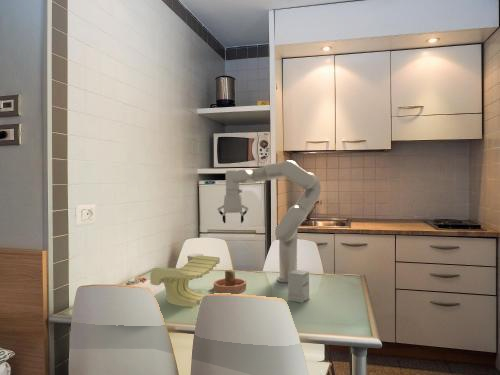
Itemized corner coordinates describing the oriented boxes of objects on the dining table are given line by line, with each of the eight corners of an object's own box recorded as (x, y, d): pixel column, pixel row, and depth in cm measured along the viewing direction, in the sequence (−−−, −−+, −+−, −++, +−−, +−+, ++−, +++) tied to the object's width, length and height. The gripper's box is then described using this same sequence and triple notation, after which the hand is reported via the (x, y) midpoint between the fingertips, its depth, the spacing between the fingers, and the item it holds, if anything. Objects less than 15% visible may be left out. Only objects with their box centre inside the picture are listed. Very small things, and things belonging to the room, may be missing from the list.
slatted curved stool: (193, 290, 201) (193, 254, 200) (220, 294, 193) (219, 257, 192) (151, 307, 175) (150, 267, 174) (179, 313, 167) (178, 270, 166)
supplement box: (303, 303, 177) (302, 274, 177) (288, 300, 181) (287, 272, 181) (309, 298, 184) (309, 271, 183) (295, 296, 188) (294, 269, 187)
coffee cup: (201, 278, 223) (200, 256, 223) (185, 277, 225) (184, 256, 225) (206, 274, 233) (206, 253, 232) (191, 273, 234) (190, 253, 234)
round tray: (246, 284, 209) (246, 278, 208) (245, 293, 193) (245, 286, 193) (216, 284, 209) (216, 278, 209) (212, 294, 193) (211, 286, 193)
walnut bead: (235, 285, 203) (235, 270, 203) (234, 288, 198) (234, 272, 198) (225, 285, 204) (225, 270, 203) (224, 288, 199) (224, 272, 198)
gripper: (248, 191, 228) (248, 221, 228) (218, 192, 229) (218, 222, 229) (247, 192, 220) (248, 223, 221) (216, 193, 221) (217, 223, 222)
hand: (233, 222), depth 225 cm, fingers open, 9 cm apart
